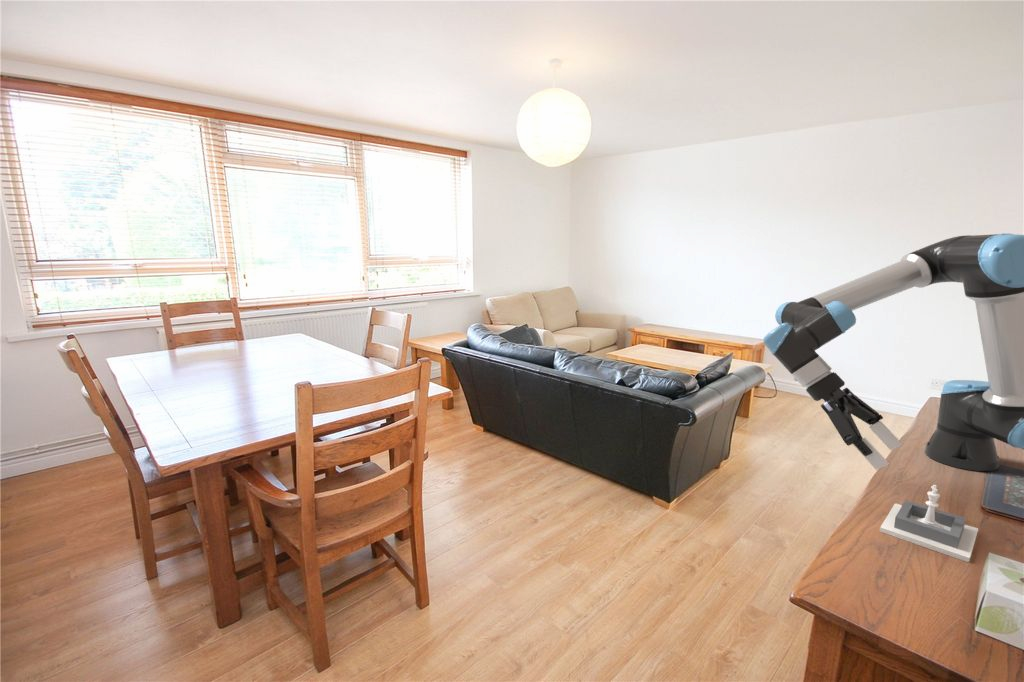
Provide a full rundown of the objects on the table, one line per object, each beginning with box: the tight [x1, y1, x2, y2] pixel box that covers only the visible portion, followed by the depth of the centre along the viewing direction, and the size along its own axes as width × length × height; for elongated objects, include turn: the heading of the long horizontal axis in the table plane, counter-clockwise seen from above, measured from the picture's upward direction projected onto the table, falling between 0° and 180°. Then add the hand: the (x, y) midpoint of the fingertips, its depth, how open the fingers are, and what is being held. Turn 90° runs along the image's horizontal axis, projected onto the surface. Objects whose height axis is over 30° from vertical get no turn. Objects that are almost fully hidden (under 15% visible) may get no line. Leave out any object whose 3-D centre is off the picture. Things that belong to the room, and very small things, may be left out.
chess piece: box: [915, 484, 944, 529], centre depth 98 cm, size 5×5×10 cm
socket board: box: [879, 499, 979, 563], centre depth 99 cm, size 14×14×4 cm
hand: (890, 456), depth 102 cm, fingers open, 13 cm apart
